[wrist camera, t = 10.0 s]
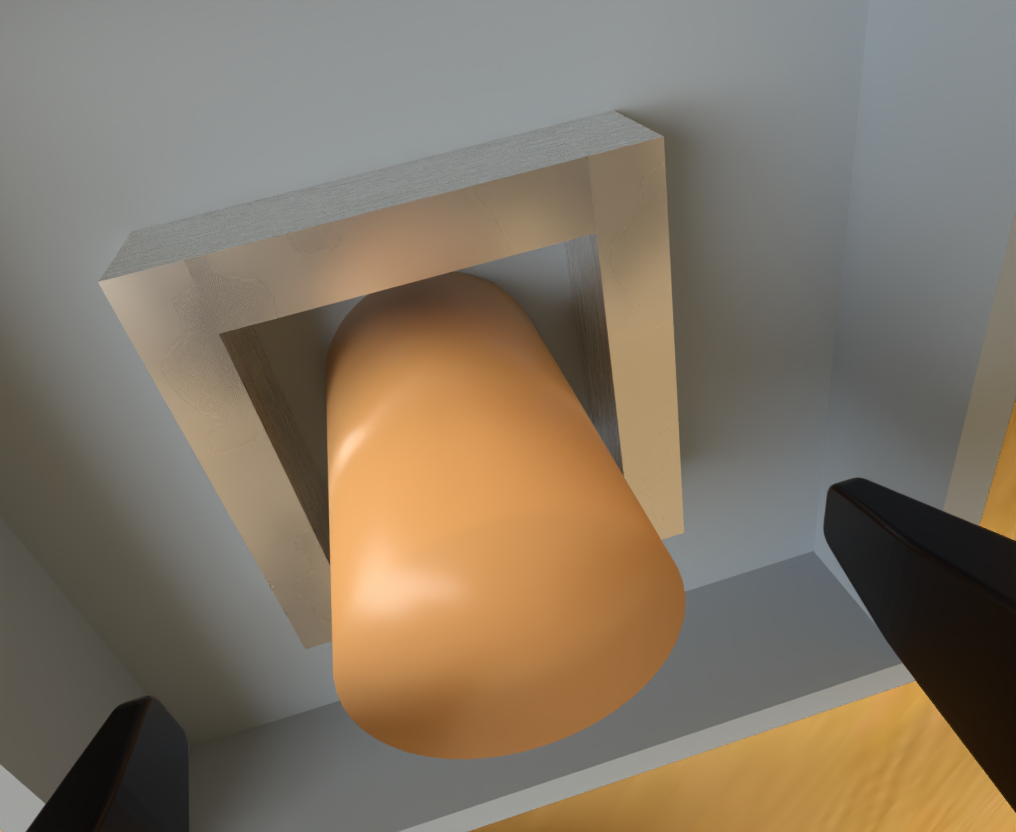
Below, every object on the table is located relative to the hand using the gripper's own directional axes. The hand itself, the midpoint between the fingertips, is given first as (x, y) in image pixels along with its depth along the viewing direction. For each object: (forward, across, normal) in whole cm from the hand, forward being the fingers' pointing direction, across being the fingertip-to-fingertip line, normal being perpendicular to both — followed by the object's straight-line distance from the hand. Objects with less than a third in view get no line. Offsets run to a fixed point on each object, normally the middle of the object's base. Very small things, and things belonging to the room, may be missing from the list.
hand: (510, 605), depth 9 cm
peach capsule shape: (+6, 0, 0) cm, 6 cm away
